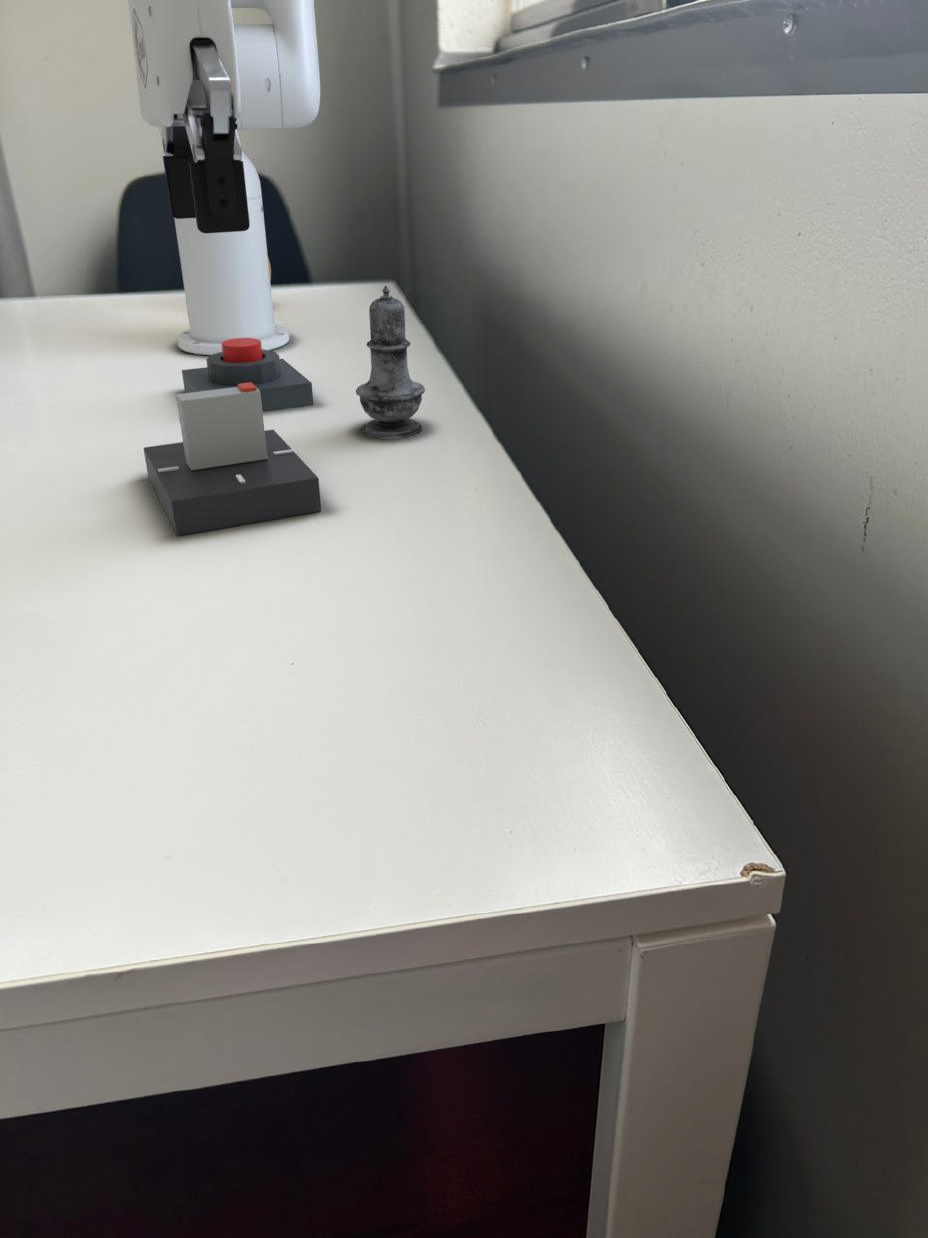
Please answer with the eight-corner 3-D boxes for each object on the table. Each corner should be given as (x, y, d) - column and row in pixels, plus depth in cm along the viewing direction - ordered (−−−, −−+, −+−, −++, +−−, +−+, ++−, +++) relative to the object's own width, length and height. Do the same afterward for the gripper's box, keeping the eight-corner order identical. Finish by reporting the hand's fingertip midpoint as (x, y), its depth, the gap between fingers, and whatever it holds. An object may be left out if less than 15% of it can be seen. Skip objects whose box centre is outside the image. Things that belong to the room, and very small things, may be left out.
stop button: (220, 358, 93) (217, 339, 92) (257, 354, 94) (255, 335, 93) (228, 367, 90) (226, 348, 89) (267, 362, 91) (265, 343, 91)
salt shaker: (417, 442, 82) (412, 293, 76) (349, 438, 83) (339, 291, 77) (433, 421, 87) (429, 280, 81) (369, 418, 88) (361, 278, 82)
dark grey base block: (148, 478, 75) (142, 445, 74) (276, 459, 79) (273, 427, 77) (177, 536, 66) (170, 498, 64) (321, 511, 69) (318, 475, 68)
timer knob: (191, 470, 69) (180, 397, 67) (186, 462, 71) (175, 390, 68) (267, 459, 71) (259, 387, 69) (261, 451, 73) (253, 381, 70)
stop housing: (184, 392, 96) (178, 351, 94) (284, 380, 100) (281, 340, 98) (205, 420, 88) (199, 375, 86) (313, 405, 92) (310, 362, 90)
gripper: (88, -70, 64) (133, 215, 72) (122, -120, 50) (173, 242, 58) (205, -65, 66) (235, 210, 74) (269, -110, 52) (298, 234, 60)
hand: (208, 223), depth 66 cm, fingers open, 9 cm apart
